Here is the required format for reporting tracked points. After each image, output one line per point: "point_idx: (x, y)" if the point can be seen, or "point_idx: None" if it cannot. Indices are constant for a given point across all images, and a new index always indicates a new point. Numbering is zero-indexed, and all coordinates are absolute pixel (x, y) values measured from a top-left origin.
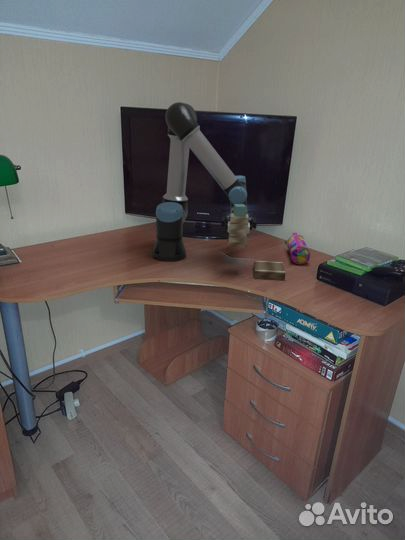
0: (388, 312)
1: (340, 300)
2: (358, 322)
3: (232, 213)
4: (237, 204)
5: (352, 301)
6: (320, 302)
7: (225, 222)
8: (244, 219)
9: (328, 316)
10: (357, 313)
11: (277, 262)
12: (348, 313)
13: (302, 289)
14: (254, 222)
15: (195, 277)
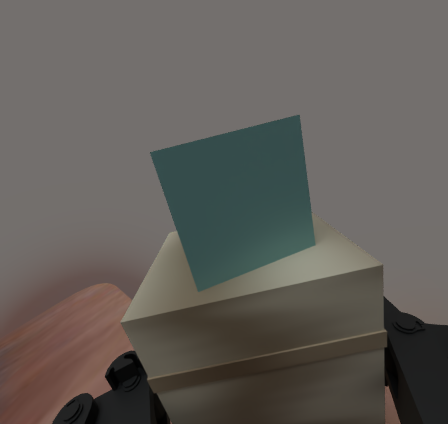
0: (11, 337)
1: (49, 355)
2: (89, 296)
3: (345, 261)
4: (247, 128)
5: (28, 359)
6: (98, 333)
7: (418, 328)
8: None
9: (118, 296)
10: (67, 318)
11: None
12: (81, 313)
13: (90, 388)
14: (81, 409)
15: None
